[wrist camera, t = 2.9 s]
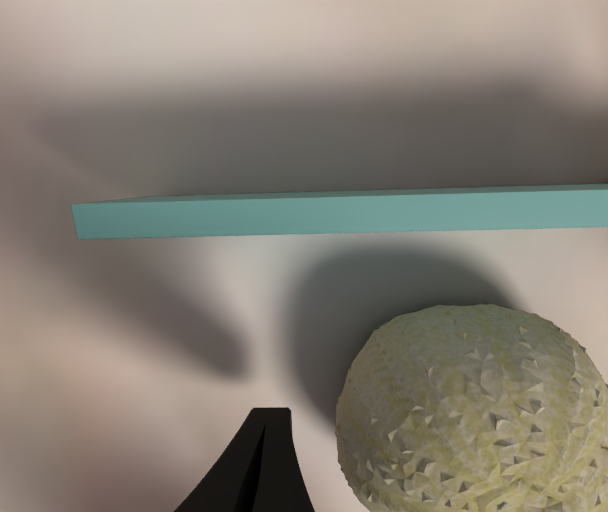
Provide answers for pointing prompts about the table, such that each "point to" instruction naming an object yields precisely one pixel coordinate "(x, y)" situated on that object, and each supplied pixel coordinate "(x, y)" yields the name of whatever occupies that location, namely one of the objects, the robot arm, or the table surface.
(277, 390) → the table surface
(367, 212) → the teal plank
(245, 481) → the robot arm
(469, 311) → the sea urchin shell
